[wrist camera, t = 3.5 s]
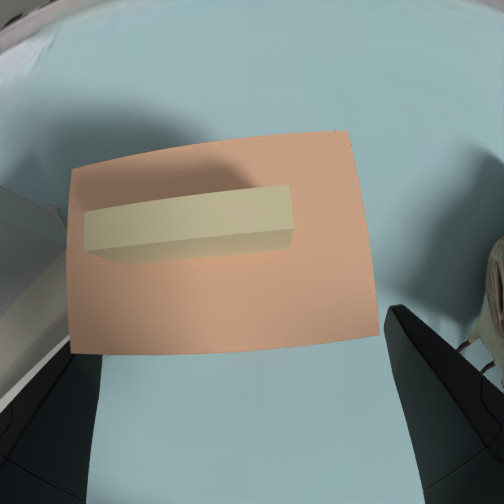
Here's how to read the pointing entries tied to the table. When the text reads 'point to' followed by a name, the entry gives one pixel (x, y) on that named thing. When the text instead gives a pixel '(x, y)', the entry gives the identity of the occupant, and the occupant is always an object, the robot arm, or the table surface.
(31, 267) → the wall board
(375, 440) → the table surface
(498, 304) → the decorative bird
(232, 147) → the tan tall block
